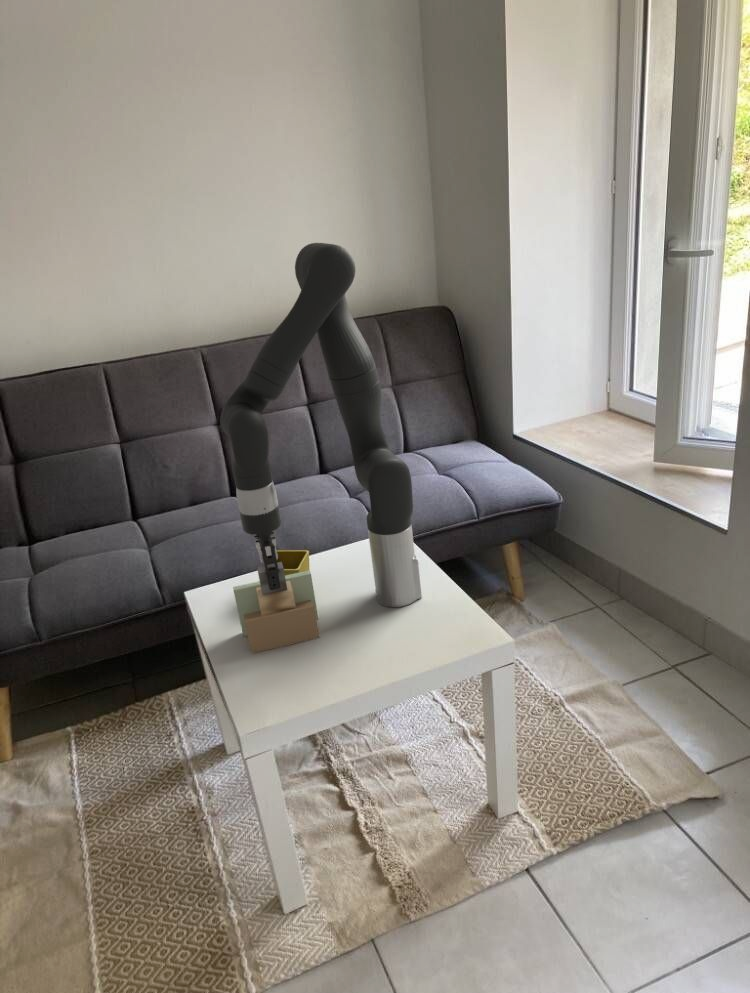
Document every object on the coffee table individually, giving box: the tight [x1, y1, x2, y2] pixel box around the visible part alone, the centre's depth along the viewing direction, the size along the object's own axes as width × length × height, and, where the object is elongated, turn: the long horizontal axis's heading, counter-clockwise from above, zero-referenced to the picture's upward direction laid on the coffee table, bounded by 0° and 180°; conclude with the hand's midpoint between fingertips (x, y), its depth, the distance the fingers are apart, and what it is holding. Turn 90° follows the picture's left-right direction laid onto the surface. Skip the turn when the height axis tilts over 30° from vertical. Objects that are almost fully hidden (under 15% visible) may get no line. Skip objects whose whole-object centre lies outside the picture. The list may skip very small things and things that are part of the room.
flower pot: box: [262, 549, 310, 576], centre depth 176 cm, size 9×9×9 cm
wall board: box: [232, 569, 320, 654], centre depth 161 cm, size 16×9×11 cm, turn 104°
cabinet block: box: [256, 562, 296, 616], centre depth 158 cm, size 7×5×11 cm, turn 103°
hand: (272, 578), depth 157 cm, fingers open, 8 cm apart
